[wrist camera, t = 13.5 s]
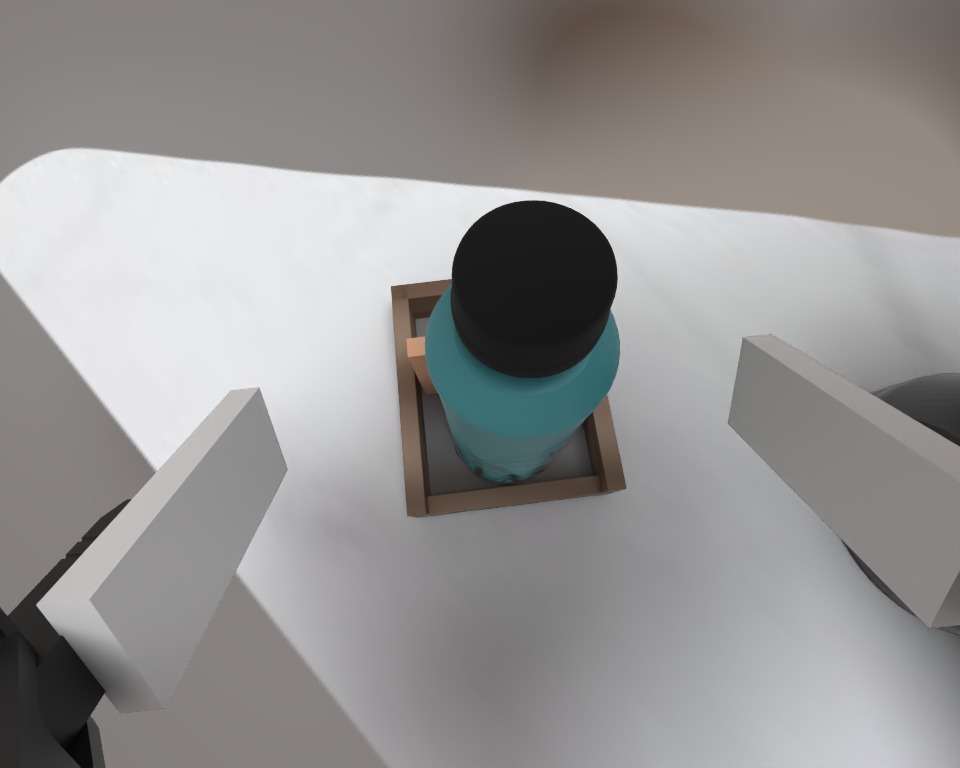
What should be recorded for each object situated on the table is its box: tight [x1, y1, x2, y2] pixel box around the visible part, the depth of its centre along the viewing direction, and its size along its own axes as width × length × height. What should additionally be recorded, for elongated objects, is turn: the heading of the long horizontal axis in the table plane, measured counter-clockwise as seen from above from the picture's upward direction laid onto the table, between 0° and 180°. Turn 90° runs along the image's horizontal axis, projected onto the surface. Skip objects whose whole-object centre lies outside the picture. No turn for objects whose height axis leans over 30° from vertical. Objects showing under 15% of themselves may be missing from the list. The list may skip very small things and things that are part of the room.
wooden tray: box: [391, 279, 626, 517], centre depth 29 cm, size 14×12×4 cm
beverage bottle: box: [425, 200, 620, 485], centre depth 20 cm, size 6×7×20 cm
